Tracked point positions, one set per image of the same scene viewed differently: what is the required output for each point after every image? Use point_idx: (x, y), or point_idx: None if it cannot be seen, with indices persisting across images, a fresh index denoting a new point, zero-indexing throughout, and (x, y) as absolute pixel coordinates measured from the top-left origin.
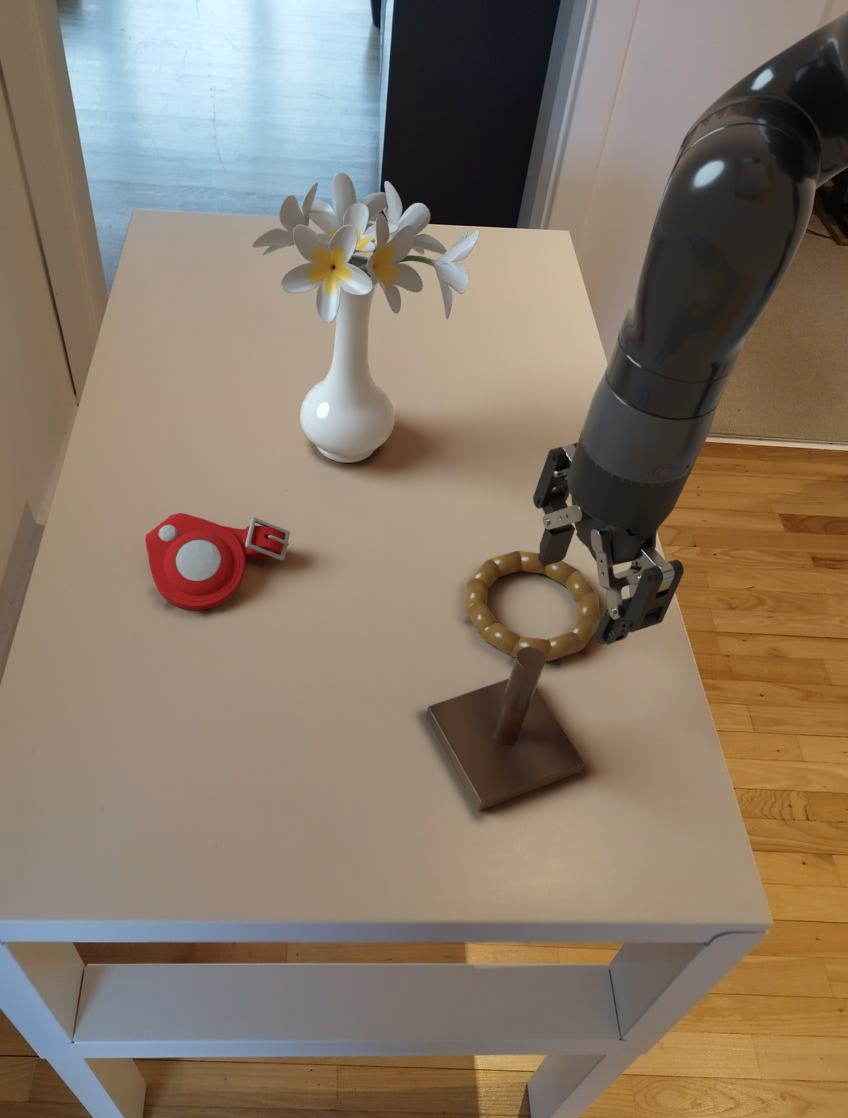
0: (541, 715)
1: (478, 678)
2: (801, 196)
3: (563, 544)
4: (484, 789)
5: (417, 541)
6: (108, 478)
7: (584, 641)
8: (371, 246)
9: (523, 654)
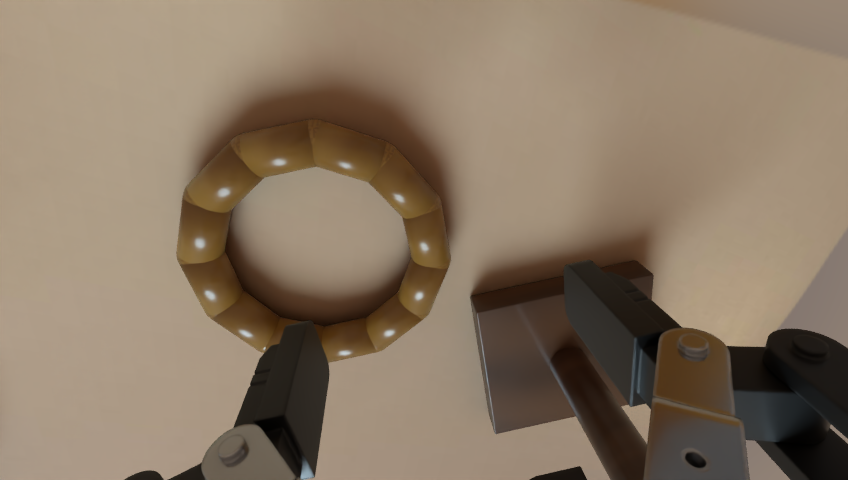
0: (557, 311)
1: (446, 349)
2: None
3: (305, 382)
4: None
5: (151, 384)
6: None
7: (434, 199)
8: None
9: None
